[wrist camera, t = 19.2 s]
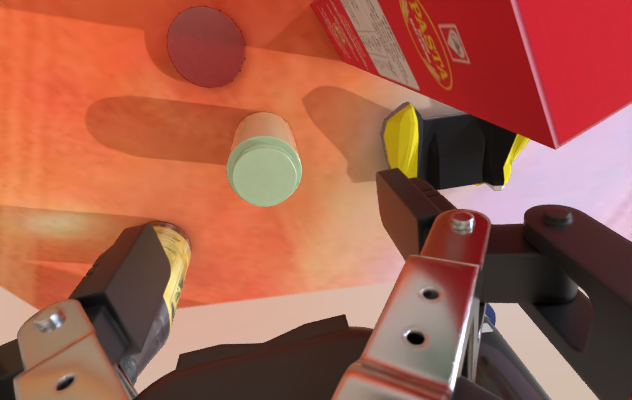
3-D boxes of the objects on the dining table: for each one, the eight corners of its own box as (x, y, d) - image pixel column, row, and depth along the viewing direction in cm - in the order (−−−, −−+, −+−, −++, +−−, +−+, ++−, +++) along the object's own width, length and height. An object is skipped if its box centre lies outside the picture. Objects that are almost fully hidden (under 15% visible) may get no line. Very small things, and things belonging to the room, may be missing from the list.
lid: (191, -11, 27) (187, -13, 25) (259, 39, 29) (259, 39, 28) (157, 57, 28) (152, 58, 27) (223, 99, 31) (222, 102, 29)
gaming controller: (372, 97, 32) (374, 192, 37) (391, 109, 27) (391, 217, 32) (522, 77, 33) (506, 171, 38) (566, 85, 29) (542, 192, 33)
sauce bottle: (167, 276, 38) (85, 491, 20) (117, 243, 35) (-26, 456, 18) (208, 241, 37) (159, 437, 19) (160, 204, 34) (51, 391, 16)
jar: (303, 151, 34) (316, 191, 26) (254, 178, 34) (252, 225, 26) (275, 100, 31) (279, 126, 23) (222, 130, 32) (208, 165, 24)
